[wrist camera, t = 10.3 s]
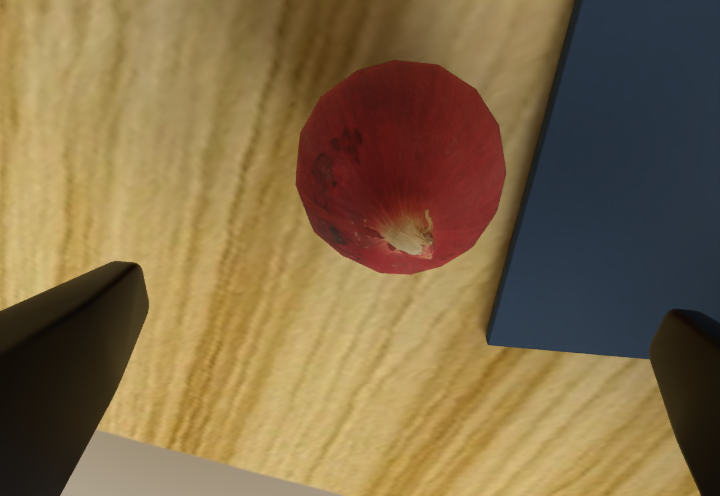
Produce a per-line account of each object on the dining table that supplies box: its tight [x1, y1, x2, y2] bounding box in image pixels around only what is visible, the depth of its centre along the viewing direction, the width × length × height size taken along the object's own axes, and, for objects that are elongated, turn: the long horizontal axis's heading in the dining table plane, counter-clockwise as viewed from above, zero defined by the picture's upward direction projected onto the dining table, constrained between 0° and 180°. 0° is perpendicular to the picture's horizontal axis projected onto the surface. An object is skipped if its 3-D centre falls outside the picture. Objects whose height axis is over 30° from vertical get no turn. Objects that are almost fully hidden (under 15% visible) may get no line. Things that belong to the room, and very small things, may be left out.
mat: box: [486, 0, 720, 359], centre depth 17 cm, size 18×10×1 cm, turn 176°
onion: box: [296, 60, 506, 275], centre depth 14 cm, size 6×6×8 cm
